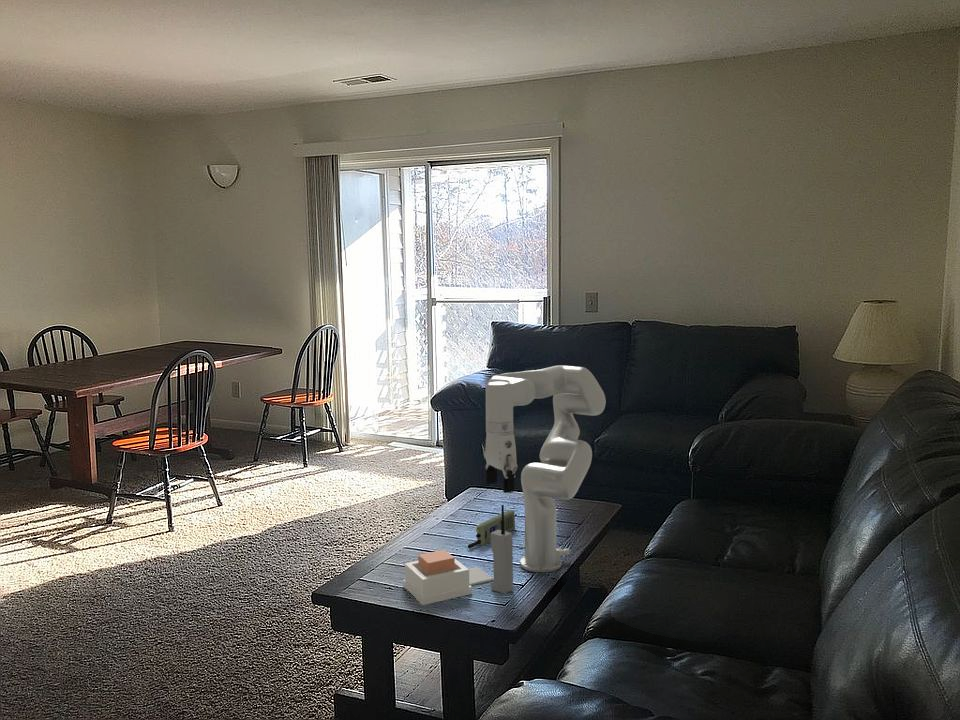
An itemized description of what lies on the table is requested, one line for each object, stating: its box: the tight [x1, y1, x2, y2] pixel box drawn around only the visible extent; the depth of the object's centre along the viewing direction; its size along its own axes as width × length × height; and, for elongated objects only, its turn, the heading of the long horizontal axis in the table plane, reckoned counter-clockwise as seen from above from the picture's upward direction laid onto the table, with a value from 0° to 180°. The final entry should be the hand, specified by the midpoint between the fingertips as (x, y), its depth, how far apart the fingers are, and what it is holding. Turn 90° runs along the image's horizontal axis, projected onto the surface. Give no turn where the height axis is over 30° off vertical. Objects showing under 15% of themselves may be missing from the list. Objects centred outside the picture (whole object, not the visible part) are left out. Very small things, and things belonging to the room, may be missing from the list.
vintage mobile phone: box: [490, 504, 514, 595], centre depth 225 cm, size 4×5×25 cm
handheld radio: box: [467, 509, 516, 550], centre depth 266 cm, size 7×3×25 cm
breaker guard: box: [402, 558, 473, 606], centre depth 226 cm, size 15×14×7 cm
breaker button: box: [417, 549, 456, 574], centre depth 226 cm, size 8×7×3 cm
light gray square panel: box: [468, 566, 494, 587], centre depth 235 cm, size 10×10×1 cm
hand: (500, 487), depth 222 cm, fingers open, 9 cm apart
